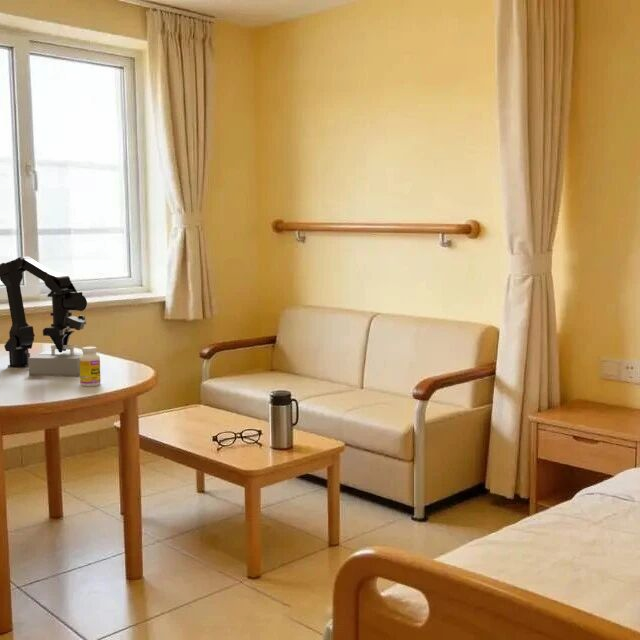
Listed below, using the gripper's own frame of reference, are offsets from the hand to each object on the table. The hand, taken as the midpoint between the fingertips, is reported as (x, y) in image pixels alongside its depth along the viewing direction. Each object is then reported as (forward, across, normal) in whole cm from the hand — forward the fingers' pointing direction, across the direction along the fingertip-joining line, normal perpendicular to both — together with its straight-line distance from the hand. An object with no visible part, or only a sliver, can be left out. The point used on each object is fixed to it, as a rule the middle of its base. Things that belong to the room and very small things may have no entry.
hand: (62, 351), depth 286 cm
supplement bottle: (+8, -22, -19) cm, 30 cm away
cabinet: (+7, -2, 0) cm, 7 cm away
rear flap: (+1, +2, 0) cm, 2 cm away
